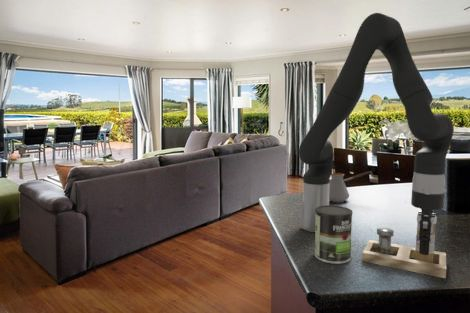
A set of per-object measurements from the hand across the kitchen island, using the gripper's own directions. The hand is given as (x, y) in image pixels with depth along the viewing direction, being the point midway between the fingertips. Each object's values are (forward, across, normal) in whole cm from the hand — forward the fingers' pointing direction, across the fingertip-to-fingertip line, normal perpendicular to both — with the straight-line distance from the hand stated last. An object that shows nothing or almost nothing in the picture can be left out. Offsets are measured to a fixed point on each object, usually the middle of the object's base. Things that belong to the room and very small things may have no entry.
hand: (424, 250), depth 90 cm
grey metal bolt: (+4, 0, -10) cm, 11 cm away
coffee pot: (+5, -58, -34) cm, 67 cm away
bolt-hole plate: (+4, 0, -5) cm, 6 cm away
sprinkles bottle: (+3, 0, 0) cm, 3 cm away
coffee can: (+4, +7, -23) cm, 24 cm away
